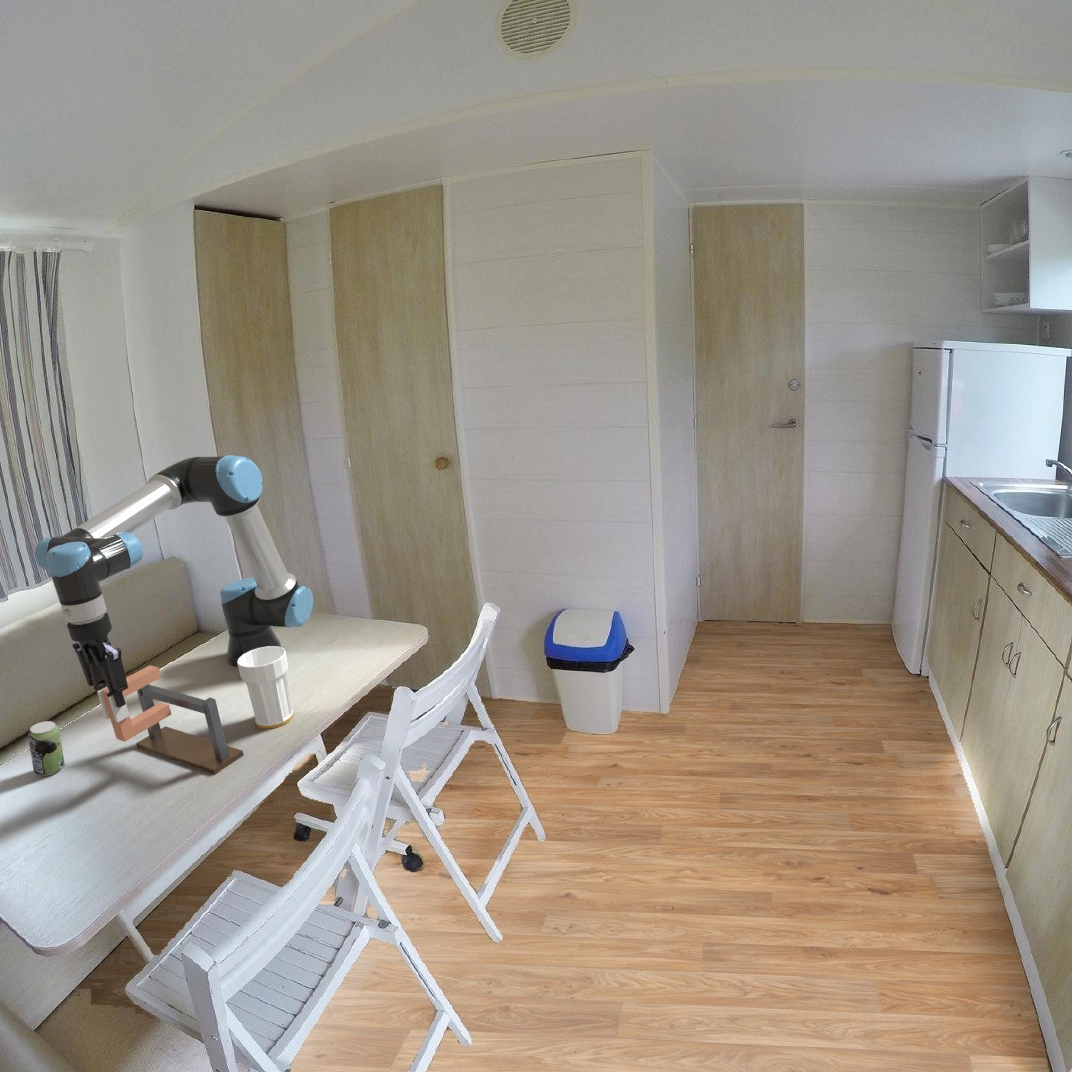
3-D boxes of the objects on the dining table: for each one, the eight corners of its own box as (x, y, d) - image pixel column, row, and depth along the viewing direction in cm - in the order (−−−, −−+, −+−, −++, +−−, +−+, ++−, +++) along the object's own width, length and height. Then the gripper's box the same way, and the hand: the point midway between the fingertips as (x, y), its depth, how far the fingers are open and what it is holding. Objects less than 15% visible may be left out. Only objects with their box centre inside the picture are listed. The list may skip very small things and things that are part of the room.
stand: (137, 747, 184) (120, 688, 179) (166, 730, 191) (151, 672, 186) (215, 774, 171) (199, 711, 166) (243, 755, 177) (229, 693, 172)
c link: (116, 738, 166) (101, 690, 162) (163, 711, 176) (150, 665, 172) (125, 741, 165) (109, 692, 161) (171, 714, 174) (158, 667, 170)
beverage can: (43, 765, 180) (29, 720, 177) (76, 761, 181) (62, 716, 177) (29, 781, 174) (14, 735, 171) (62, 777, 175) (48, 731, 171)
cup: (241, 728, 189) (226, 664, 184) (271, 704, 199) (258, 643, 193) (278, 734, 185) (264, 669, 179) (307, 710, 195) (295, 648, 189)
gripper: (46, 619, 158) (78, 718, 165) (92, 630, 150) (124, 734, 158) (81, 605, 164) (111, 701, 171) (128, 615, 156) (156, 715, 164)
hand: (117, 716), depth 165 cm, fingers closed on c link, 3 cm apart
